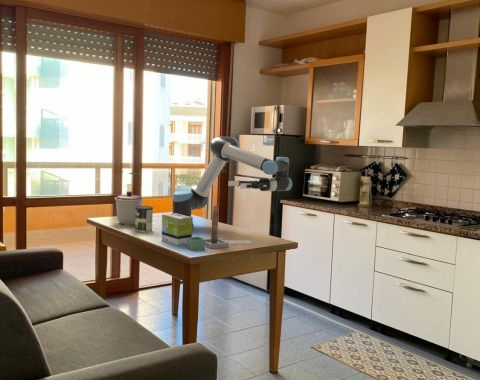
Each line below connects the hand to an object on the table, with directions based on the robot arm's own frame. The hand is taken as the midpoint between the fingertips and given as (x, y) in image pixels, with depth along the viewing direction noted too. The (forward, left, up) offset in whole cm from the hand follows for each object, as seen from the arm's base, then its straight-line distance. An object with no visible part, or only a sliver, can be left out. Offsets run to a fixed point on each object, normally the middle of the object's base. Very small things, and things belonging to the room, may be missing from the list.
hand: (234, 184), depth 256 cm
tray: (+5, -14, -32) cm, 35 cm away
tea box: (-10, -29, -32) cm, 44 cm away
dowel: (+5, -14, -30) cm, 34 cm away
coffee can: (-47, -35, -32) cm, 67 cm away
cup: (+8, -26, -32) cm, 42 cm away
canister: (-71, -37, -32) cm, 86 cm away
